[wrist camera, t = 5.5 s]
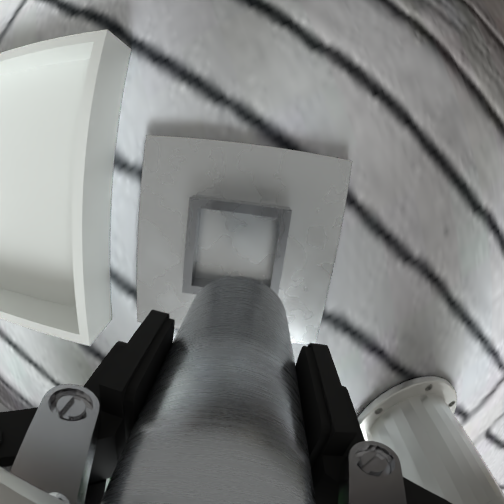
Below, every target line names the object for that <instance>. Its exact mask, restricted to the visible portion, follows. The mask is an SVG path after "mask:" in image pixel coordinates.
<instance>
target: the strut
mask: <svg viewBox="0 0 504 504" xmlns="http://www.w3.org/2000/svg"><path fill="white" fill-rule="evenodd" d="M100 504H316V502H315V495H314V488H313V480H312V473H311V466H310V459H309V452H308V445H307V439H306V432H305V425H304V419H303V412H302V406H301V399H300V393H299V387H298V380H297V374H296V368H295V362H294V356H293V350H292V344H291V338H290V332H289V326H288V320H287V315H286V310H285V307H284V305H283V303H282V301H281V299H280V298H279V297H278V295H277V294H276V293H275V292H274V291H273V290H272V289H271V288H269V287H268V286H267V285H265V284H263V283H262V282H260V281H257V280H255V279H251V278H248V277H241V276H232V277H225V278H221V279H218V280H215V281H213V282H211V283H209V284H208V285H206V286H205V287H204V288H203V289H202V290H200V291H199V293H198V294H197V295H196V297H195V298H194V300H193V302H192V304H191V306H190V308H189V310H188V312H187V314H186V316H185V318H184V320H183V322H182V324H181V326H180V328H179V330H178V333H177V335H176V337H175V339H174V341H173V343H172V345H171V347H170V349H169V351H168V353H167V355H166V358H165V360H164V362H163V364H162V366H161V368H160V370H159V372H158V375H157V377H156V379H155V381H154V383H153V385H152V387H151V390H150V392H149V394H148V396H147V398H146V400H145V403H144V405H143V407H142V409H141V411H140V413H139V416H138V418H137V420H136V422H135V424H134V427H133V429H132V431H131V433H130V436H129V438H128V440H127V442H126V445H125V447H124V449H123V451H122V454H121V456H120V458H119V460H118V463H117V465H116V467H115V470H114V472H113V474H112V477H111V479H110V481H109V484H108V486H107V488H106V491H105V493H104V495H103V498H102V500H101V503H100Z"/></svg>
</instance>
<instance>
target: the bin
mask: <svg viewBox="0 0 504 504" xmlns="http://www.w3.org/2000/svg"><path fill="white" fill-rule="evenodd" d="M130 54H131V49H130V48H129V47H128V46H127V45H125V44H124V43H123V42H122V41H121V40H120V39H118V38H117V37H116V36H115V35H114V34H112V33H111V32H110V31H109V30H99V31H92V32H86V33H80V34H74V35H68V36H63V37H58V38H54V39H49V40H45V41H41V42H36V43H32V44H29V45H25V46H21V47H18V48H14V49H11V50H8V51H4V52H1V53H0V319H2V320H5V321H8V322H11V323H14V324H16V325H19V326H22V327H25V328H28V329H32V330H35V331H38V332H41V333H44V334H48V335H51V336H54V337H58V338H61V339H65V340H68V341H72V342H76V343H79V344H83V345H87V346H91V344H92V343H93V342H94V341H95V339H96V338H97V337H98V336H99V334H100V333H101V332H102V331H103V329H104V328H105V327H106V326H107V325H108V323H109V322H110V321H111V320H112V309H111V286H110V220H111V197H112V182H113V169H114V158H115V148H116V139H117V131H118V123H119V116H120V109H121V102H122V96H123V90H124V85H125V79H126V74H127V69H128V64H129V59H130Z"/></svg>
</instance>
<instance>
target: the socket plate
mask: <svg viewBox="0 0 504 504" xmlns="http://www.w3.org/2000/svg"><path fill="white" fill-rule="evenodd" d="M351 166H352V161H350V160H346V159H341V158H335V157H330V156H325V155H319V154H314V153H308V152H302V151H296V150H290V149H283V148H277V147H270V146H262V145H255V144H247V143H239V142H230V141H220V140H210V139H199V138H187V137H172V136H155V135H146V141H145V150H144V159H143V169H142V180H141V192H140V206H139V223H138V248H137V322H141V323H142V322H143V321H144V320H145V318H146V317H147V316H148V314H149V313H150V311H151V310H157V311H161V312H165V313H169V315H170V319H174V320H175V325H174V328H176V329H179V328H180V326H181V324H182V322H183V320H184V318H185V316H186V314H187V312H188V310H189V308H190V306H191V304H192V302H193V300H194V298H195V297H196V295H197V294H198V293H199V291H200V290H202V289H203V288H204V287H205V286H206V285H208V284H209V283H211V282H213V281H215V280H218V279H221V278H225V277H232V276H241V277H248V278H251V279H255V280H257V281H260V282H262V283H263V284H265V285H267V286H268V287H269V288H271V289H272V290H273V291H274V292H275V293H276V294H277V295H278V297H279V298H280V299H281V301H282V303H283V305H284V307H285V310H286V315H287V320H288V326H289V332H290V338H291V343H300V344H309V343H316V339H317V335H318V331H319V327H320V323H321V319H322V315H323V311H324V307H325V303H326V298H327V294H328V290H329V285H330V281H331V276H332V271H333V267H334V262H335V257H336V252H337V247H338V242H339V237H340V232H341V226H342V221H343V215H344V210H345V204H346V198H347V192H348V186H349V180H350V173H351Z"/></svg>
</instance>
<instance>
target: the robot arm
mask: <svg viewBox="0 0 504 504" xmlns="http://www.w3.org/2000/svg"><path fill="white" fill-rule="evenodd" d="M174 325H175V320H174V319H170V315H169V313H165V312H161V311H157V310H151V311H150V313H149V314H148V316H147V317H146V318H145V320H144V321H143V322H142V324H141V325H140V327H139V328H138V329H137V331H136V332H135V333H134V335H133V336H132V338H131V339H130V340H129V342H128V343H125V342H121V341H118V342H117V343H116V344H115V345H114V346H113V348H112V349H111V350H110V352H109V353H108V354H107V356H106V357H105V358H104V360H103V361H102V362H101V364H100V365H99V366H98V368H97V369H96V370H95V372H94V373H93V374H92V376H91V377H90V378H89V380H88V381H87V383H86V384H85V385H84V387H82V386H79V385H73V384H64V385H59V386H56V387H53V388H52V389H50V390H49V391H48V392H47V393H46V394H45V395H44V397H43V399H42V401H41V403H40V405H39V407H37V408H31V409H24V410H16V411H9V412H0V504H100V503H101V500H102V498H103V495H104V493H105V491H106V488H107V486H108V484H109V481H110V478H111V477H112V474H113V472H114V470H115V467H116V465H117V463H118V460H119V458H120V456H121V454H122V451H123V449H124V447H125V445H126V442H127V440H128V438H129V436H130V433H131V431H132V429H133V427H134V424H135V422H136V420H137V418H138V416H139V413H140V411H141V409H142V407H143V405H144V403H145V400H146V398H147V396H148V394H149V392H150V390H151V387H152V385H153V383H154V381H155V379H156V377H157V375H158V372H159V370H160V368H161V366H162V364H163V362H164V360H165V358H166V355H167V353H168V351H169V349H170V347H171V345H172V342H173V333H174ZM295 368H296V374H297V380H298V387H299V393H300V399H301V406H302V412H303V419H304V425H305V432H306V439H307V445H308V452H309V459H310V466H311V473H312V480H313V488H314V495H315V502H316V504H504V494H503V492H502V490H501V489H500V487H499V485H498V483H497V482H496V480H495V478H494V477H493V475H492V473H491V472H490V470H489V468H488V467H487V465H486V463H485V462H484V460H483V459H482V457H481V455H480V454H479V452H478V451H477V449H476V447H475V446H474V444H473V443H472V441H471V440H470V438H469V436H468V435H467V433H466V432H465V430H464V429H463V427H462V426H461V424H460V423H459V421H458V420H457V418H456V417H455V415H454V411H455V408H456V405H457V395H456V391H455V390H454V388H453V387H452V385H451V384H450V383H449V382H448V381H447V380H445V379H443V378H440V377H436V376H425V377H420V378H415V379H412V380H409V381H406V382H403V383H401V384H399V385H397V386H395V387H393V388H391V389H390V390H388V391H386V392H385V393H383V394H382V395H380V396H379V397H378V398H376V399H375V400H374V401H373V402H372V403H371V404H369V405H368V406H367V407H366V408H365V409H364V411H363V412H362V413H361V414H360V415H359V417H358V418H357V415H356V413H355V410H354V407H353V404H352V401H351V398H350V396H349V393H348V390H347V388H346V387H344V386H342V385H341V383H340V380H339V377H338V374H337V371H336V368H335V365H334V362H333V360H332V357H331V354H330V351H329V348H328V346H327V345H322V344H315V343H309V345H308V347H307V346H303V347H302V349H301V351H300V354H299V357H298V360H297V363H296V366H295Z"/></svg>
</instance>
